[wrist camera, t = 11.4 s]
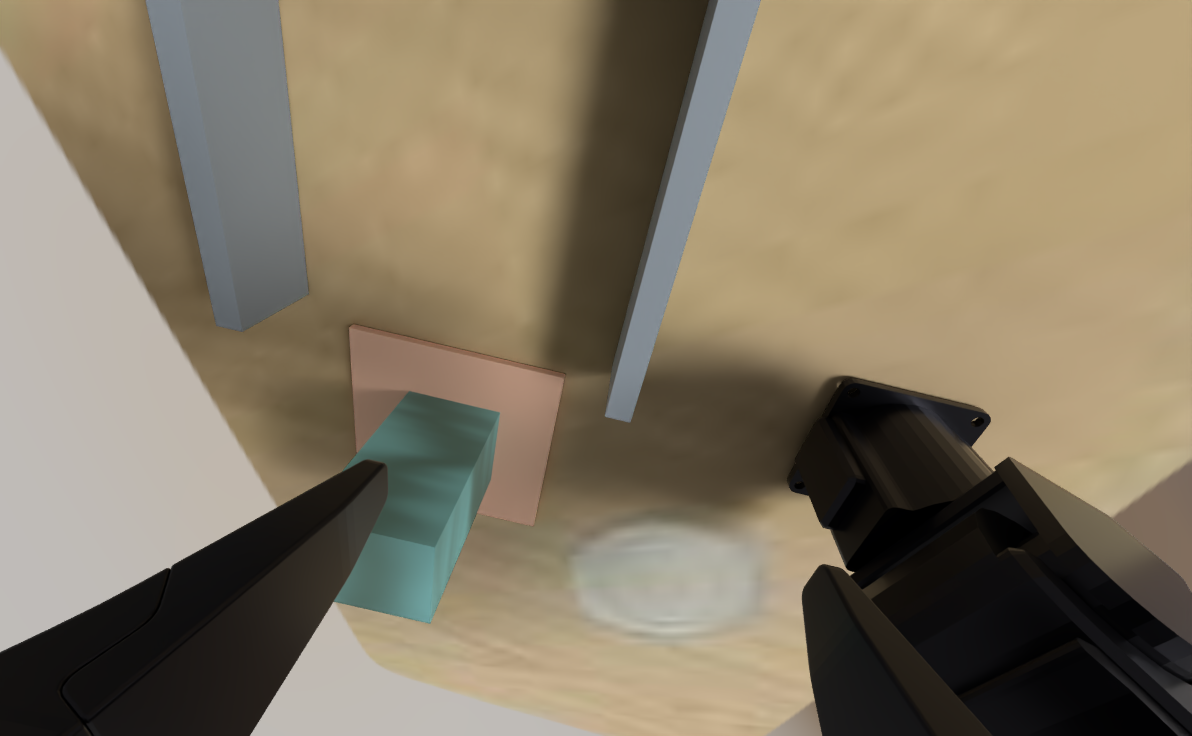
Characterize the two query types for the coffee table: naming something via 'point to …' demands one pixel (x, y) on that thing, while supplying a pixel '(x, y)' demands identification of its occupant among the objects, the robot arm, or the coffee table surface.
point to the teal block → (422, 503)
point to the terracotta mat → (467, 378)
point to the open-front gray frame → (269, 182)
